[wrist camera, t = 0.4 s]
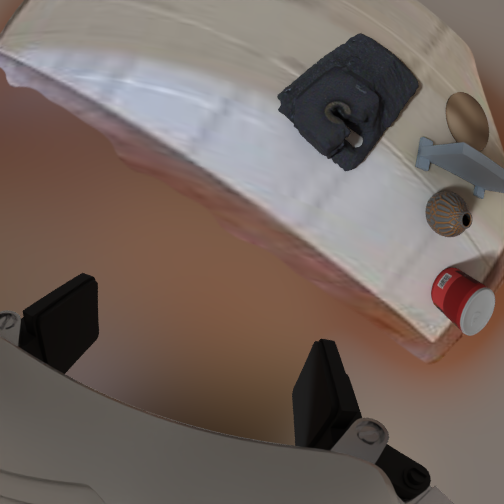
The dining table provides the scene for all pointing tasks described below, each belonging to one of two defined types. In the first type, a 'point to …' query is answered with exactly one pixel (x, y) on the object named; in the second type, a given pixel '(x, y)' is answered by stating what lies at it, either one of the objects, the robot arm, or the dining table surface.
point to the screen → (462, 164)
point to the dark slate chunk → (348, 98)
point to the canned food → (463, 300)
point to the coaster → (467, 120)
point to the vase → (448, 214)
